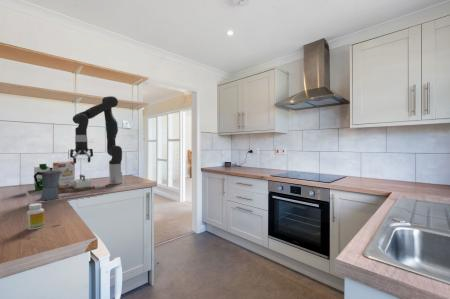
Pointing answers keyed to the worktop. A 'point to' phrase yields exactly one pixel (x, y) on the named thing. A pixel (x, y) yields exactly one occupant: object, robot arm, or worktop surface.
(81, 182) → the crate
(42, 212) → the supplement bottle
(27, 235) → the worktop surface
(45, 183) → the moka pot
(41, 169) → the milk carton
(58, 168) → the cracker box
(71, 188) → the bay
